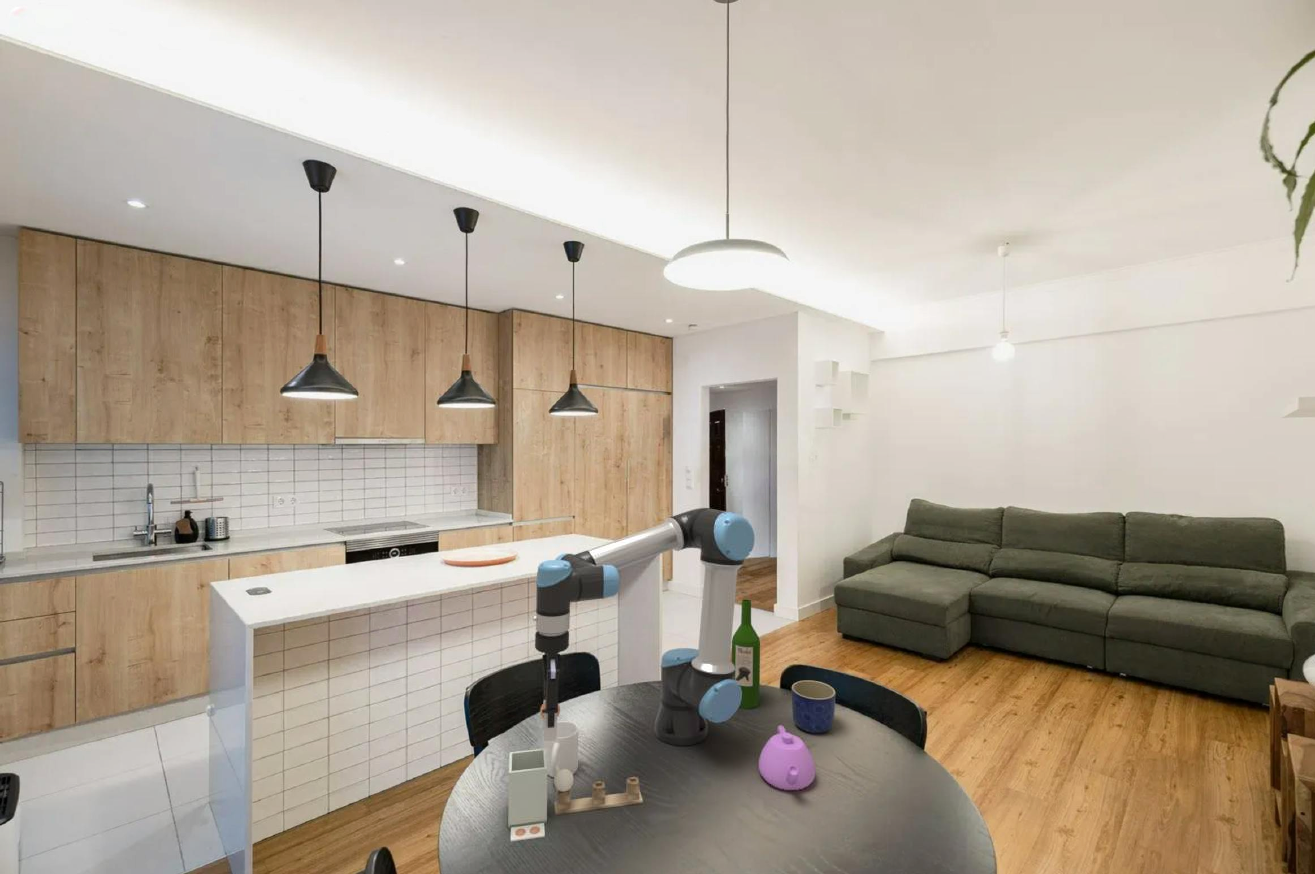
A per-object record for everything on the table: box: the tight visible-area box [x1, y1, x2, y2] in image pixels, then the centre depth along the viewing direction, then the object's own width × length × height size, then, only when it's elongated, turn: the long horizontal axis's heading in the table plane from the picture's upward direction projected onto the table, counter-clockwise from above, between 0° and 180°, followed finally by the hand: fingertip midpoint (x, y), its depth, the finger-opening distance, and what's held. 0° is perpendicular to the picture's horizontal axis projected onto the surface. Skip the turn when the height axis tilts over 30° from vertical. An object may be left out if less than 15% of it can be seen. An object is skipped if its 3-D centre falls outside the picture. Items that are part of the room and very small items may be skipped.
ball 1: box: [539, 701, 561, 720], centre depth 131 cm, size 4×4×4 cm
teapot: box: [758, 725, 816, 791], centre depth 145 cm, size 14×20×11 cm
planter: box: [791, 679, 836, 734], centre depth 170 cm, size 12×12×11 cm
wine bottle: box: [731, 598, 761, 710], centre depth 185 cm, size 9×9×32 cm
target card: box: [510, 823, 546, 842], centre depth 124 cm, size 7×4×1 cm, turn 103°
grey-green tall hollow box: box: [507, 748, 548, 829], centre depth 130 cm, size 8×8×12 cm
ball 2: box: [553, 769, 574, 791], centre depth 132 cm, size 4×4×4 cm
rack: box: [553, 776, 644, 816], centre depth 134 cm, size 20×4×4 cm, turn 103°
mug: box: [544, 720, 579, 778], centre depth 145 cm, size 12×8×10 cm
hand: (549, 733), depth 131 cm, fingers closed on ball 1, 4 cm apart
